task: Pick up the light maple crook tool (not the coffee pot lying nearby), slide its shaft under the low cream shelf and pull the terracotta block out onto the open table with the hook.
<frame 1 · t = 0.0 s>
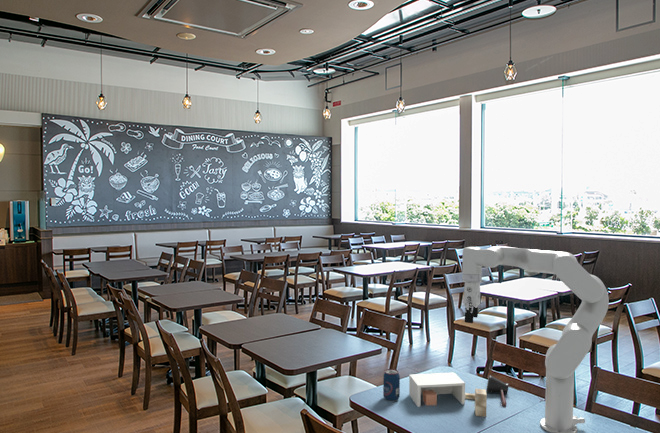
hand: (471, 319, 194), 37 cm above the table, tool pointing down, fingers open, 9 cm apart
block: (429, 403, 203), on the table
shelf cubby: (436, 399, 206), on the table
crook tool: (480, 413, 193), on the table
soda can: (391, 399, 207), on the table
coffee pot: (497, 398, 209), on the table
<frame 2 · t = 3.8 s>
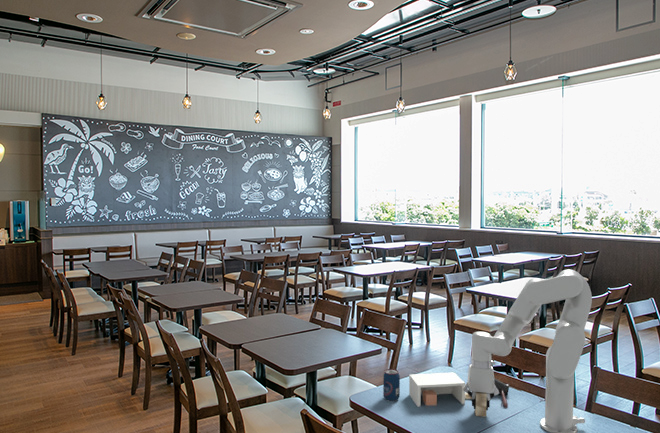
hand: (480, 407, 193), 2 cm above the table, tool pointing down, fingers closed on crook tool, 4 cm apart
crook tool: (480, 413, 193), on the table, touching gripper
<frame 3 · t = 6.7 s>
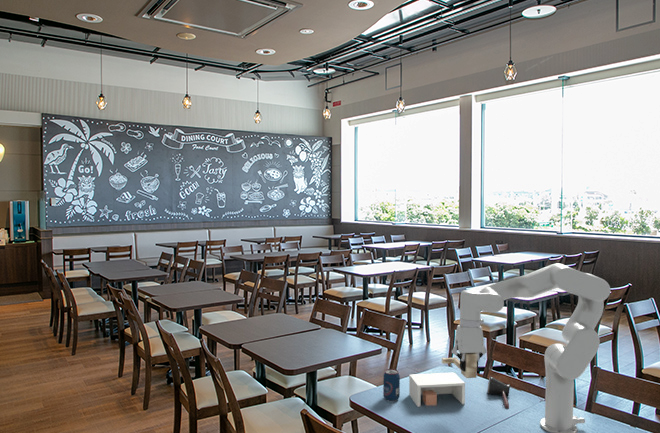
hand: (468, 369, 184), 21 cm above the table, tool pointing down, fingers closed on crook tool, 4 cm apart
crook tool: (468, 375, 184), point 19 cm above the table, touching gripper
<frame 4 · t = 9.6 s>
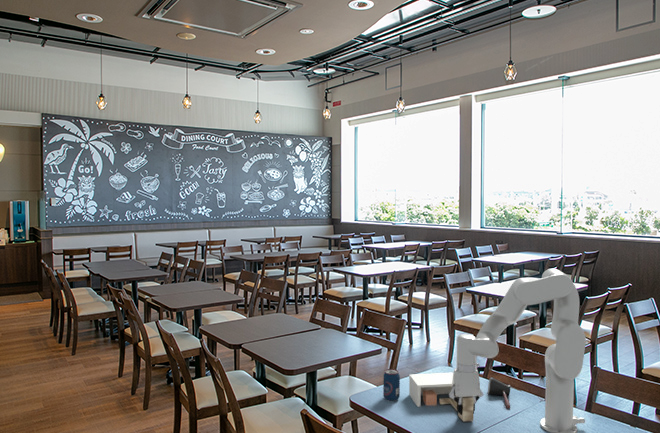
hand: (465, 412, 188), 3 cm above the table, tool pointing down, fingers closed on crook tool, 4 cm apart
crook tool: (465, 418, 188), on the table, touching gripper
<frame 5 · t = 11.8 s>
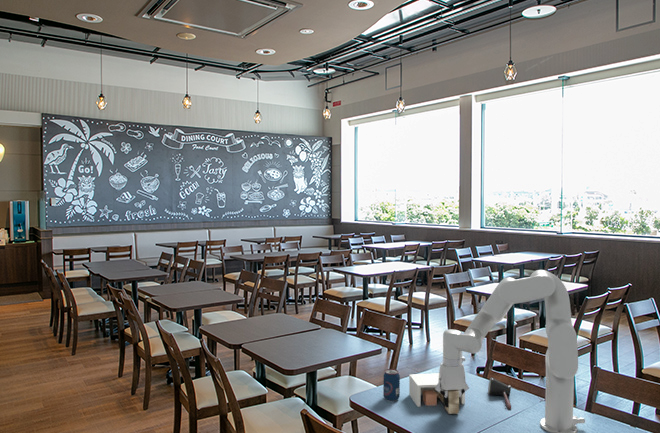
hand: (451, 405, 194), 3 cm above the table, tool pointing down, fingers closed on crook tool, 4 cm apart
crook tool: (451, 410, 194), point 1 cm above the table, touching gripper
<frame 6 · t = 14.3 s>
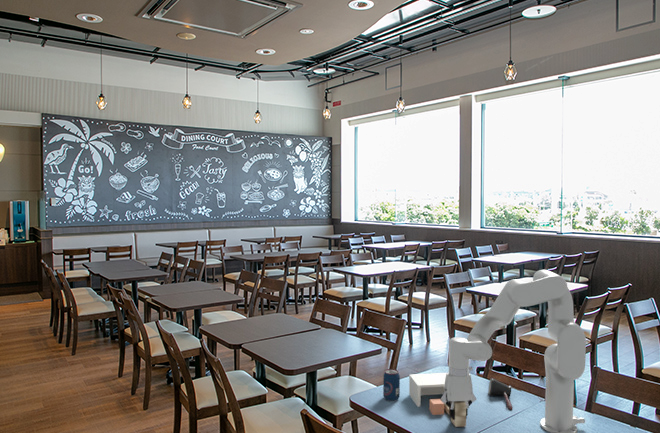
hand: (458, 417, 184), 3 cm above the table, tool pointing down, fingers closed on crook tool, 4 cm apart
block: (436, 412, 194), on the table
crook tool: (458, 423, 184), on the table, touching gripper
when the fingers open (3 cm above the table, at t = 15.3 s): crook tool stays where it is, on the table.
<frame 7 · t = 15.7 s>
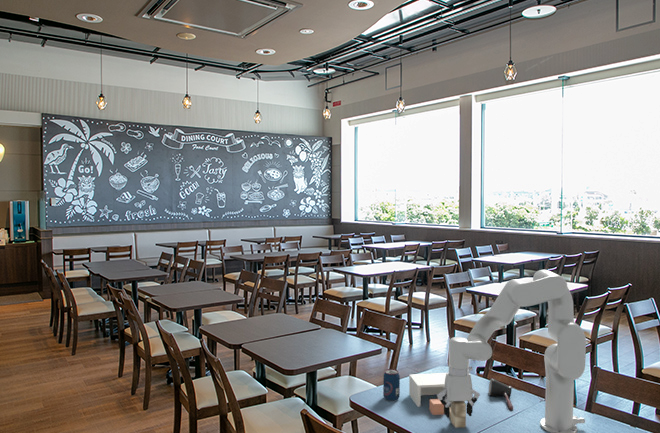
hand: (458, 415, 184), 4 cm above the table, tool pointing down, fingers open, 8 cm apart
crook tool: (458, 424, 184), on the table
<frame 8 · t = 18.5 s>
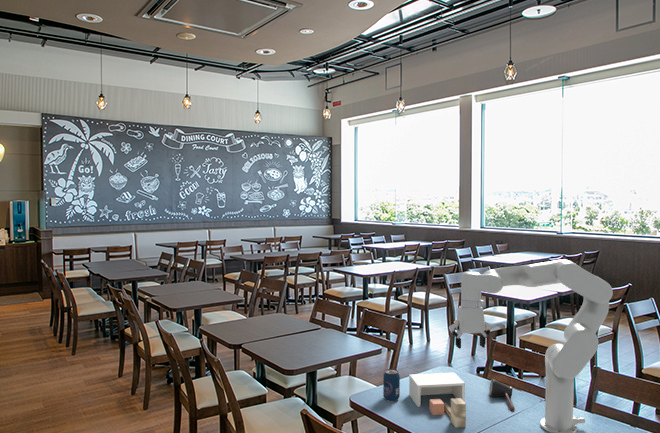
hand: (470, 347, 188), 28 cm above the table, tool pointing down, fingers open, 9 cm apart
at the end: block inside the target area (1.6 cm from its centre), on the table; block moved 8.6 cm from its start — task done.
